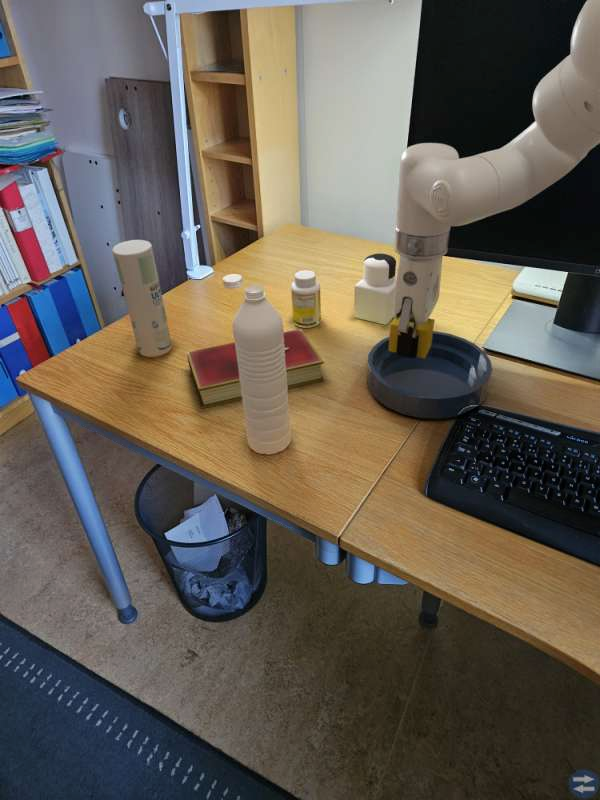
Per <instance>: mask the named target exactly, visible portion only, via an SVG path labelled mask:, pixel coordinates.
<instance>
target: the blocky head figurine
mask: <svg viewBox="0 0 600 800" xmlns="http://www.w3.org/2000/svg"><path fill="white" fill-rule="evenodd" d="M396 270H397V260H396V258H395V257H394V256H392V255H390V254H387V253H372V254H369V255H367V256H366V257H365V258H364V261H363V278H362V279H360V280H359V281H358V282H357V283H356V284H354V309H353V310H354V311H353V312H354V313H353V315H354V318H356V319H360V320H365V321H369V322H372V323H376V324H380V325H384V326H386V325H388V324H389V323H390V322H391V321H392V320H393V319H394V318H395V317H394V299H395V289H396V280H397V276H396V273H397V272H396Z"/></svg>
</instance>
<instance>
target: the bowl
mask: <svg viewBox="0 0 600 800" xmlns="http://www.w3.org/2000/svg"><path fill="white" fill-rule="evenodd" d="M389 338H390V335H389V336H387V337H385V338H383V339H381V340H380V341H378V342H377V343H376V344H374V345H373V347H372V348H371V350H370V351H369V353H368V356H367V363H366V364H367V365H366V366H367V367H366V385H367V387H368V390H369V392H370V393H371V394H372V396H373V397H374V398H375V399H376V401H378V402H380V403H381V404H382V405H384V407H386V408H388V409H389V410H393V411H395V412H397V413H398V414H399V413H400V414H402V415H406V416H410V417H414V418H419V419H433V420H439V419H440V420H441V419H448V418H449V419H450V418H451V419H452V418H455V417H458V413H459V412H460V411H461V410H462V409H463V408H465V407H467V406H470V405H479V406H480V405H481V404H482V403H483V402H484V401H485V400H486V399H487V395H488V392H489V388H490V384H491V379H492V375H493V365H492V361H491V359H490V357H489V356H488V354H487V353H486V352H485V351H484V350H483V349H482V348H481V347H480V346H478V345H477V344H475V343H474V342H472V341H470V340H468V339H466V338H464V337H461V336H458V335H455V334H452V333H448V332H443V331H436V330H433V335H432V343H431V347H430V349H429V351H428V353H427V355H426V357H425V358H420V357H416V358H409V357H404V356H399V355H397V354H396V352H391V351H389Z"/></svg>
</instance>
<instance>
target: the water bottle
mask: <svg viewBox="0 0 600 800" xmlns="http://www.w3.org/2000/svg"><path fill="white" fill-rule="evenodd" d="M222 284H223V287H224V288H225V289H228V290H234V289H235V290H236V289H239V288H241V287H243V285H244V281H243V275H240V274H239V273H231V274H226V275H224V276H223V278H222ZM266 296H267V293H266V292H265V289H264V287H263V286H262V285H260V284H250V285H248V286H246V287H245V289H244V294H243V299H244V300H243V302H242V304H241V305H240V307H239V309H238V310H237V312H236V314H235V315H234V318H233V322H232V334H233V339H234V342H235V347H236V355H237V362H238V370H239V379H240V386H241V395H242V399H243V400H241V401H242V407H243V416H244V424H245V430H246V440H247V444H248V446H249V448H250V449H251V450H253V451H254V452H255V453H257V454H260V455H276V454H277V453H281V452H283V451H284V450H286V449H287V448H288V446H289V445H290V444H291V441H292V432H291V431H292V430H291V418H290V407H289V406H290V405H289V396H288V394H289V391H288V390H289V389H288V387H287V374H286V364H285V349H284V332H285V331H284V321H283V318H282V316H281V314H280V312H279V311H278V310H277V309H276V307H274V305H272V303H271V302H270V301H269V300H268V299H267V298H266Z"/></svg>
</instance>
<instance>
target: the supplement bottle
mask: <svg viewBox="0 0 600 800" xmlns="http://www.w3.org/2000/svg"><path fill="white" fill-rule="evenodd" d="M316 276H317V275H316V272H314V271H312V270H309V269H308V270H307V269H305V270H299V271H296V272H295V273H294V281H293V282H292V284H291V285H290V290H291V291H290V292H291V293H290V294H291V306H292V307H291V309H292V321H293V323H294V325H295V326H296V327H299V328H301V329H302V328H303V329H309V328H314V327H316V326H318V325H319V324H320V323H321V321H322V309H321V308H322V306H321V304H322V303H321V301H322V300H321V284H320V283H319V281H317V277H316Z"/></svg>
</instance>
